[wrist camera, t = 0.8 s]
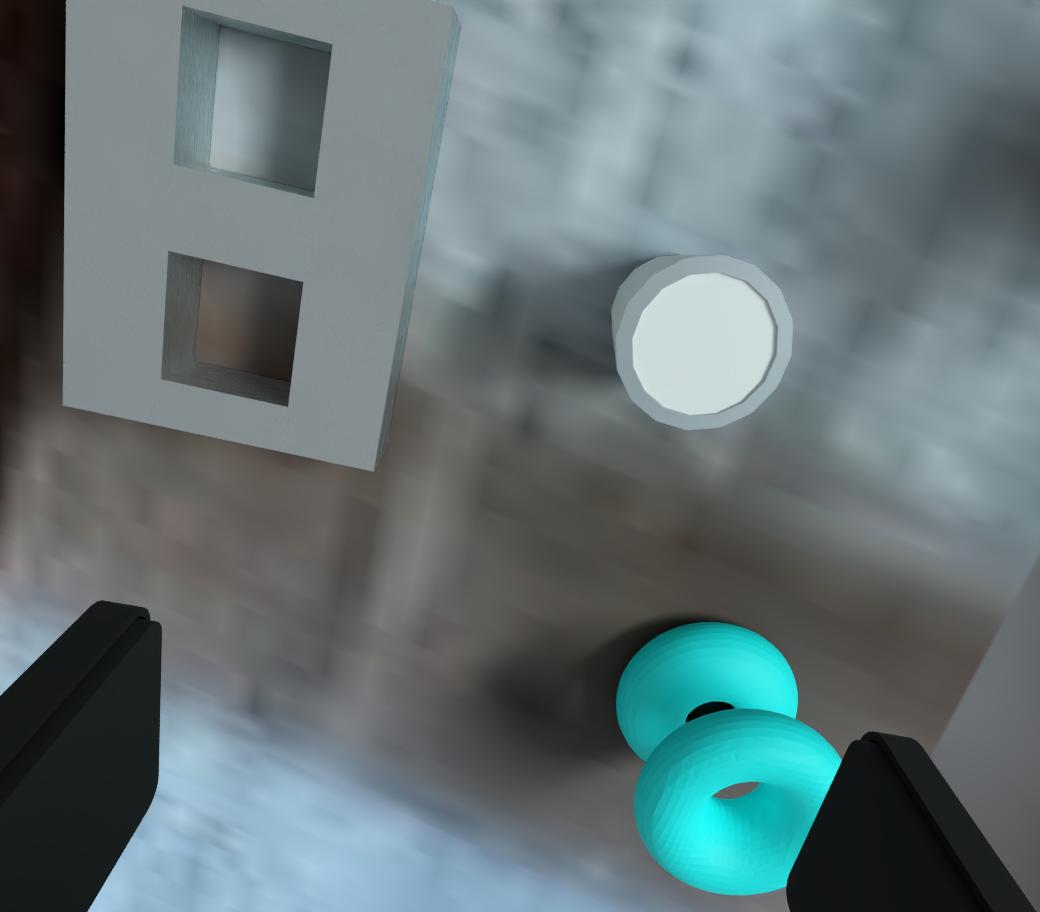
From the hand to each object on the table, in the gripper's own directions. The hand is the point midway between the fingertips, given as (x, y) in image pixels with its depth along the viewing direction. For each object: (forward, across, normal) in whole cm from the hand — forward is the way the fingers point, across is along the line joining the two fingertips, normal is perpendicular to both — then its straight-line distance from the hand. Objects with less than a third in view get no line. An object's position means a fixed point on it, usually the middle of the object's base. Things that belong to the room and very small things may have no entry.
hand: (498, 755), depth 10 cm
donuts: (+27, -14, +18) cm, 35 cm away
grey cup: (+27, -7, -2) cm, 28 cm away
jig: (+27, +12, -3) cm, 30 cm away
